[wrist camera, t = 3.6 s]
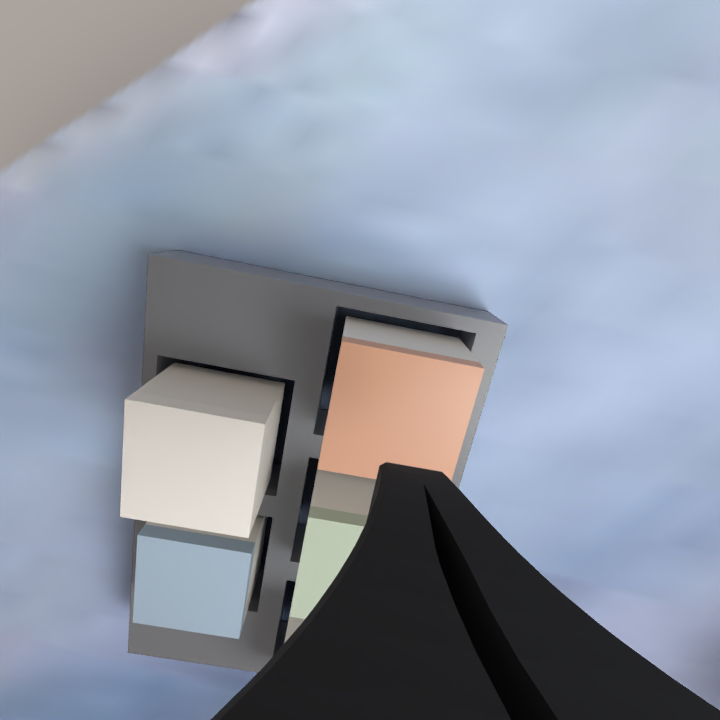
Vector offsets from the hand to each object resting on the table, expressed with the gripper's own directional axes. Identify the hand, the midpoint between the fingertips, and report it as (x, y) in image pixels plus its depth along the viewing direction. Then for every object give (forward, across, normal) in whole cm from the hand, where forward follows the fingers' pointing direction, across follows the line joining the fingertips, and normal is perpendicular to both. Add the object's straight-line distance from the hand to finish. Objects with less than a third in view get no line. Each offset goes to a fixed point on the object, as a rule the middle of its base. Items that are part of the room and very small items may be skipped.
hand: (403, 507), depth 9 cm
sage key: (+8, 0, +6) cm, 10 cm away
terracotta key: (+8, 0, 0) cm, 8 cm away
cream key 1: (+8, +6, +3) cm, 10 cm away
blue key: (+9, +6, +9) cm, 14 cm away
